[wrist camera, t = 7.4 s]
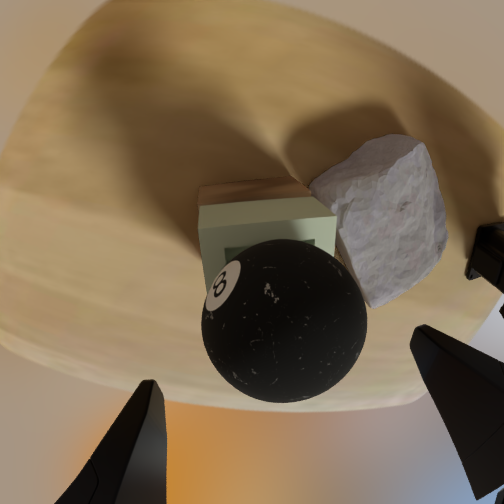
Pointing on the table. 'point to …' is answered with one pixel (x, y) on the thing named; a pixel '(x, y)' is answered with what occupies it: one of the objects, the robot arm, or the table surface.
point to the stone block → (386, 215)
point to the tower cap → (260, 228)
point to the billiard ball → (284, 321)
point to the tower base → (251, 191)
